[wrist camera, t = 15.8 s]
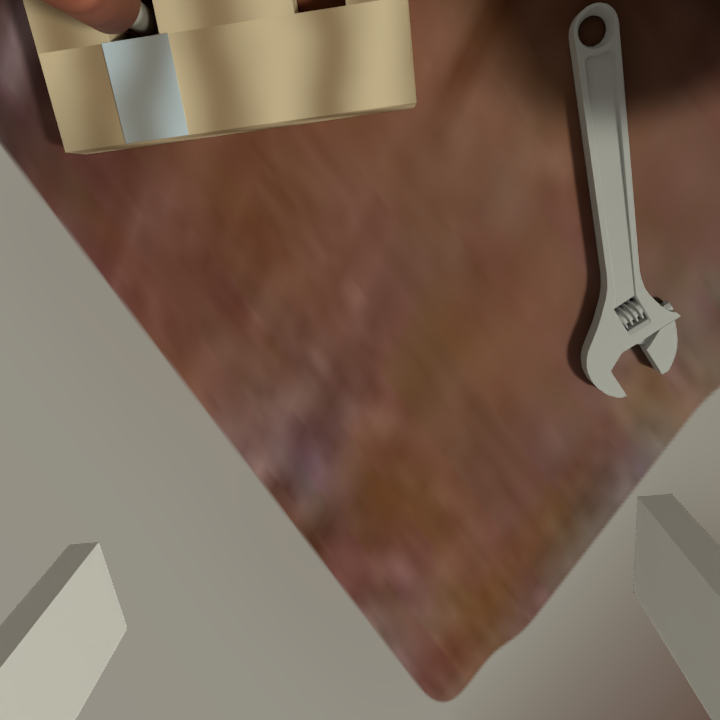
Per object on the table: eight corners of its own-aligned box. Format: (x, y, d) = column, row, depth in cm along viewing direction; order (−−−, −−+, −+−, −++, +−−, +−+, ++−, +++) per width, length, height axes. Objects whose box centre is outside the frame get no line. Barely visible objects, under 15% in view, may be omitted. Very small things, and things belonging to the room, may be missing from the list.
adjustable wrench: (560, 16, 33) (570, 6, 31) (669, -7, 32) (685, -18, 30) (580, 391, 40) (589, 400, 38) (668, 378, 40) (681, 387, 38)
